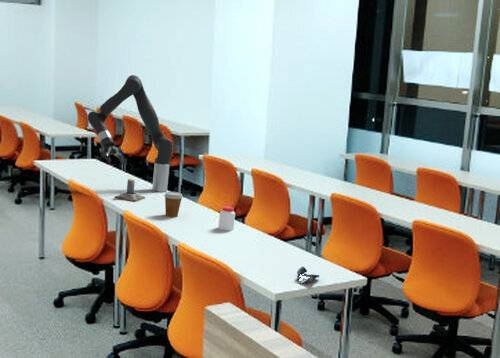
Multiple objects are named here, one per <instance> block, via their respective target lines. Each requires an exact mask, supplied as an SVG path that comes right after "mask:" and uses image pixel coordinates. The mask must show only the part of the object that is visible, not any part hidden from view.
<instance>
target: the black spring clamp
mask: <svg viewBox="0 0 500 358" xmlns="http://www.w3.org/2000/svg"><path fill="white" fill-rule="evenodd" d="M307 272H308V269H306V267H305V266H300V268H298V269H297V272H296V274H297V275H296V278H297V280H298V279H300V278H301V277H299V276H300V274H301V275H302V274H304V275H302V276H306V277H310V278H308V279H305V280H303V281H300V283H303V284H304V283H307V282H313V281H314V280H315V279H317V278H319V277H320V275H319V274H307Z"/></svg>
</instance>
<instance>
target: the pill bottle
mask: <svg viewBox="0 0 500 358" xmlns="http://www.w3.org/2000/svg"><path fill="white" fill-rule="evenodd" d="M235 218H236V212H235V211H234V207H233V206H228V205H224V206H222V209H221V210H220V212H219V219H218V225H217V226H218V229H219V230H221V231H226V230H231V231H233V230H234V228H235Z"/></svg>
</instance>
